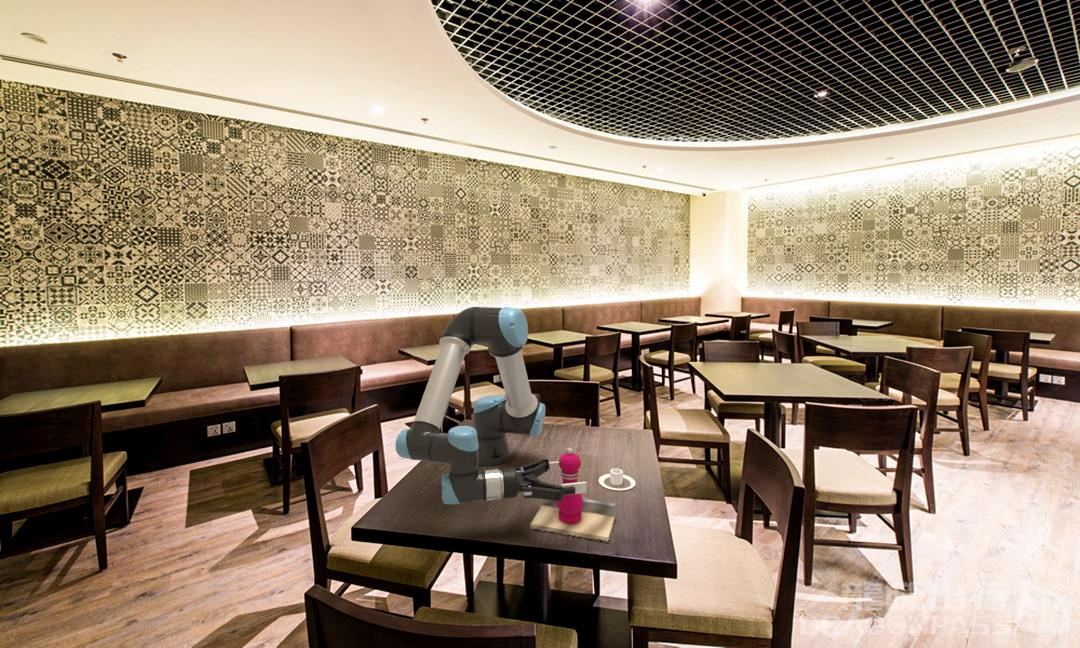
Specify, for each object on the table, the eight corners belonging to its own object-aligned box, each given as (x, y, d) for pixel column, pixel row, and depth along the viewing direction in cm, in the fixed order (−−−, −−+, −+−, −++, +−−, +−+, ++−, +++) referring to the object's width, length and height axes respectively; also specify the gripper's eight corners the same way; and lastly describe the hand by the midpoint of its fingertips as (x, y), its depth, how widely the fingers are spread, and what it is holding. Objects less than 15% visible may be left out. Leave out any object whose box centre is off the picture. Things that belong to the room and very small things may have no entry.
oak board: (530, 529, 121) (530, 513, 121) (543, 507, 132) (543, 492, 132) (608, 543, 115) (608, 526, 114) (614, 518, 126) (615, 503, 126)
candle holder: (643, 486, 146) (643, 473, 145) (615, 496, 140) (615, 482, 139) (618, 472, 156) (618, 460, 155) (591, 481, 150) (591, 468, 149)
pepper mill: (585, 513, 126) (585, 444, 124) (579, 527, 119) (579, 454, 117) (561, 509, 128) (560, 441, 126) (553, 522, 122) (553, 451, 119)
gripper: (495, 476, 131) (565, 469, 135) (508, 522, 107) (593, 512, 111) (495, 451, 130) (565, 445, 135) (508, 492, 106) (593, 483, 110)
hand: (578, 475), depth 123 cm, fingers open, 13 cm apart
